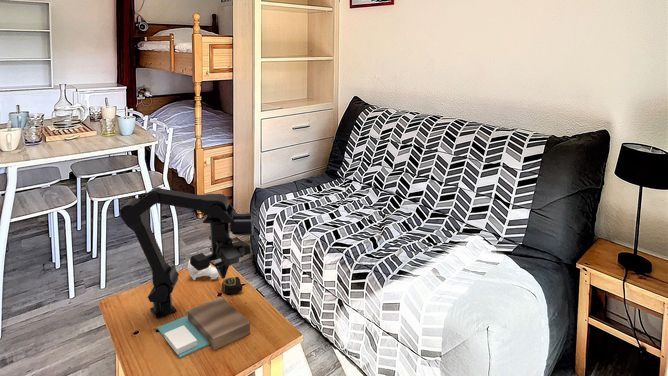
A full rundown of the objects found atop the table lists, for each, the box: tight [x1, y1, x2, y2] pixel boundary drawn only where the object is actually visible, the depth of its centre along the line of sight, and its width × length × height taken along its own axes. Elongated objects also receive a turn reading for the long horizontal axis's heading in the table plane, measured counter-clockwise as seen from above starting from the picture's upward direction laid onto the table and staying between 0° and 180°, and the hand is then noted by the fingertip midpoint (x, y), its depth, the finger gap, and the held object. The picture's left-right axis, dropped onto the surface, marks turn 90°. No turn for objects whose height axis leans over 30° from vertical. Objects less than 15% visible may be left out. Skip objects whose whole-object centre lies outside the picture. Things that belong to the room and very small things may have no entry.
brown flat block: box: [186, 296, 251, 351], centre depth 137 cm, size 18×12×4 cm, turn 42°
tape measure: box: [221, 276, 243, 295], centre depth 157 cm, size 7×7×4 cm
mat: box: [156, 315, 210, 359], centre depth 133 cm, size 17×10×1 cm, turn 42°
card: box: [164, 325, 198, 356], centre depth 130 cm, size 9×6×2 cm, turn 43°
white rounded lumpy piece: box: [186, 259, 220, 281], centre depth 164 cm, size 6×8×12 cm
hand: (222, 278), depth 143 cm, fingers closed
